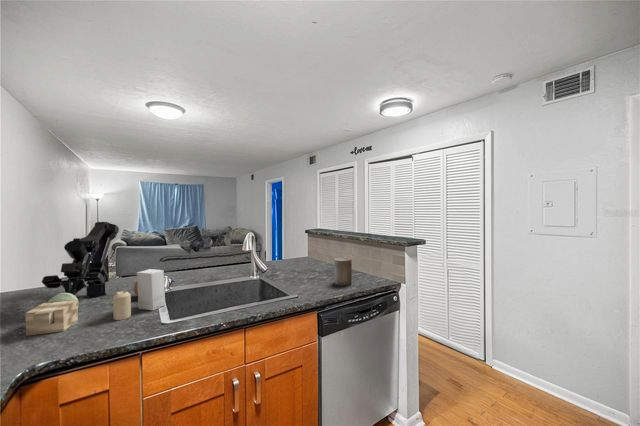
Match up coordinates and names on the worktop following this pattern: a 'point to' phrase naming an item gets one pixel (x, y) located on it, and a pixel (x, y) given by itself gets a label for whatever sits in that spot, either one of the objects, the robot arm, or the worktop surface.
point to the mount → (62, 318)
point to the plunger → (52, 309)
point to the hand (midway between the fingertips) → (67, 299)
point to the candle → (122, 305)
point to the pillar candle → (343, 271)
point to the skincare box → (151, 289)
